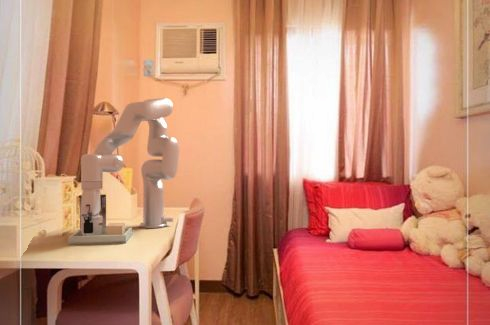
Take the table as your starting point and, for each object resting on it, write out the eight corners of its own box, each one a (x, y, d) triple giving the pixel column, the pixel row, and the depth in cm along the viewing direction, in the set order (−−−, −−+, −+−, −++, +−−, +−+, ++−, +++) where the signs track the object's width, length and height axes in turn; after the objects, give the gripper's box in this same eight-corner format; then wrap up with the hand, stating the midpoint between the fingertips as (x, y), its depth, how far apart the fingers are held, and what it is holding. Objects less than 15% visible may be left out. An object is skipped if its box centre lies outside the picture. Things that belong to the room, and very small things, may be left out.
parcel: (125, 235, 131) (125, 222, 131) (122, 238, 125) (122, 225, 125) (109, 235, 129) (109, 223, 129) (105, 239, 124) (105, 226, 124)
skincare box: (86, 237, 121) (86, 217, 121) (80, 234, 126) (80, 215, 126) (102, 234, 126) (102, 216, 126) (96, 232, 130) (96, 214, 130)
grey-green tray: (131, 234, 135) (131, 227, 135) (125, 243, 121) (125, 235, 121) (80, 236, 131) (80, 229, 131) (68, 245, 117) (68, 237, 117)
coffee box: (93, 229, 144) (93, 193, 144) (106, 230, 143) (106, 194, 142) (79, 234, 135) (79, 196, 135) (92, 235, 134) (93, 196, 133)
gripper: (88, 184, 133) (88, 226, 133) (73, 187, 116) (73, 236, 116) (107, 184, 135) (107, 225, 135) (96, 187, 118) (96, 235, 118)
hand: (91, 230), depth 126 cm, fingers closed on skincare box, 8 cm apart
